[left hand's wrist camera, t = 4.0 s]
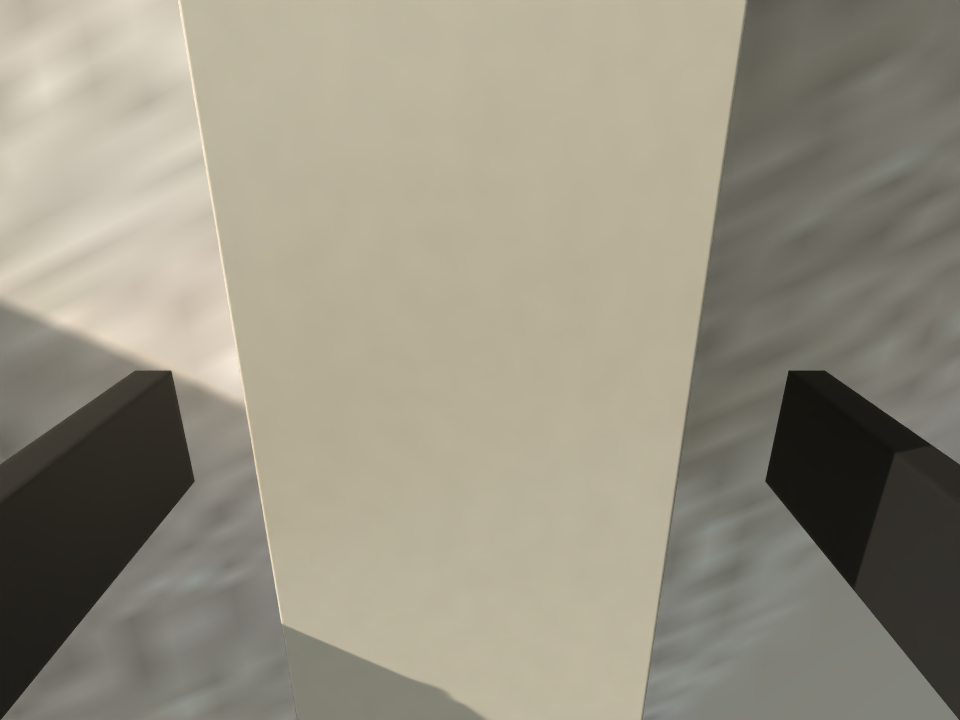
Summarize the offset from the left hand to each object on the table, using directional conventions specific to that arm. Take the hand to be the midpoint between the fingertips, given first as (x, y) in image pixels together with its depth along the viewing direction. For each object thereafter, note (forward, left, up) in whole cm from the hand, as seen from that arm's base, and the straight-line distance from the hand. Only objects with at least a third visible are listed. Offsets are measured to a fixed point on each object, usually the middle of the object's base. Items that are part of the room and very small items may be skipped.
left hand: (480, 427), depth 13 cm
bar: (+10, +33, -3) cm, 34 cm away
